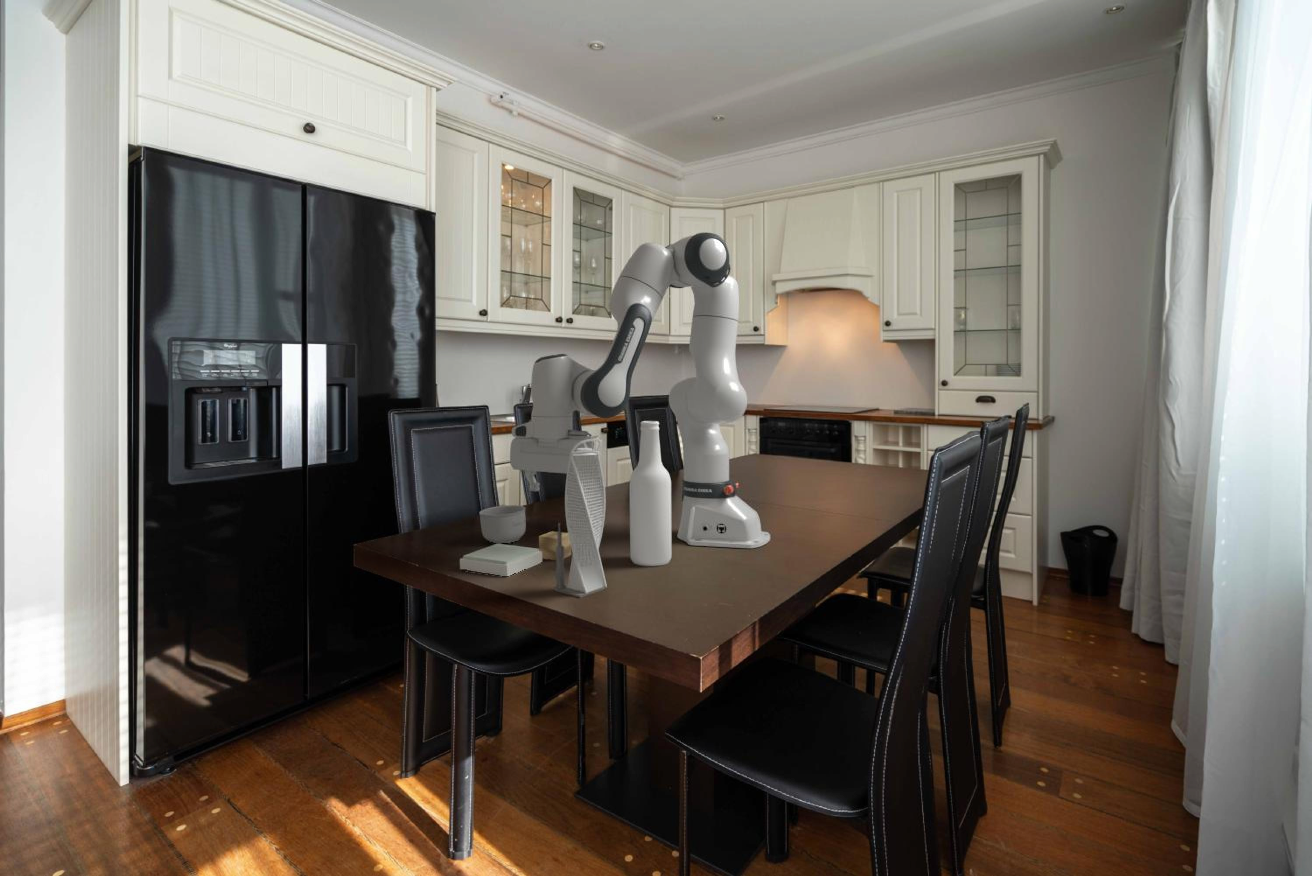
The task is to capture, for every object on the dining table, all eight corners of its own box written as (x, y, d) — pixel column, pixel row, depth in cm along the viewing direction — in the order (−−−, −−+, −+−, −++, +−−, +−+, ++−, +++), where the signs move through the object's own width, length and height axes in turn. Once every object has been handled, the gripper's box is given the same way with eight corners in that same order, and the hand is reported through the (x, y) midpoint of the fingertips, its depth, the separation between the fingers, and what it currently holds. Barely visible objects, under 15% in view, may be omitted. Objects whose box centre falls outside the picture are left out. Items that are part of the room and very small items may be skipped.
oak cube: (571, 555, 152) (570, 533, 152) (558, 561, 148) (558, 538, 147) (552, 553, 154) (551, 531, 154) (539, 558, 150) (539, 536, 149)
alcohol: (667, 568, 141) (666, 423, 138) (626, 566, 143) (624, 422, 140) (674, 556, 150) (674, 420, 147) (635, 555, 152) (634, 420, 149)
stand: (542, 562, 146) (542, 548, 146) (507, 577, 136) (506, 562, 135) (497, 556, 151) (496, 542, 151) (460, 570, 141) (459, 556, 140)
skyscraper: (586, 579, 134) (583, 437, 131) (616, 587, 129) (614, 439, 126) (553, 590, 127) (550, 440, 125) (584, 599, 122) (581, 443, 119)
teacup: (520, 547, 160) (519, 513, 159) (474, 547, 160) (473, 513, 159) (532, 533, 173) (532, 502, 173) (490, 533, 174) (489, 502, 173)
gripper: (601, 430, 147) (601, 494, 148) (522, 426, 155) (523, 487, 157) (585, 432, 141) (585, 498, 142) (505, 428, 150) (506, 491, 151)
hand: (552, 492), depth 149 cm, fingers open, 8 cm apart
